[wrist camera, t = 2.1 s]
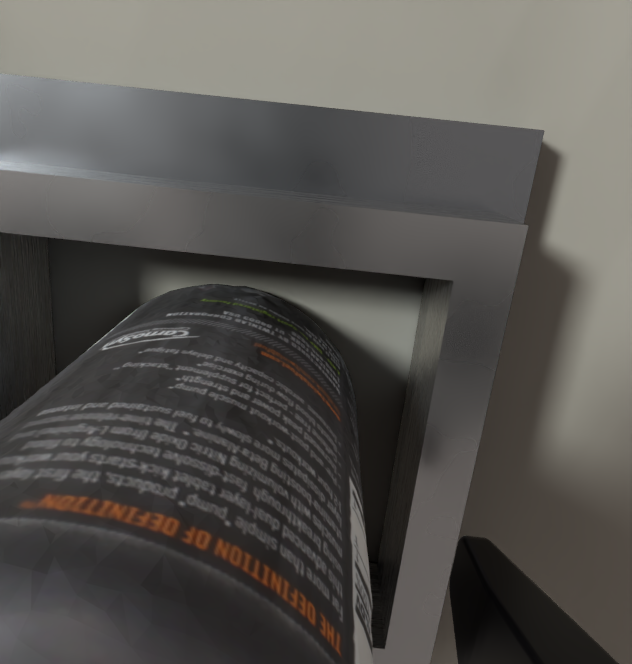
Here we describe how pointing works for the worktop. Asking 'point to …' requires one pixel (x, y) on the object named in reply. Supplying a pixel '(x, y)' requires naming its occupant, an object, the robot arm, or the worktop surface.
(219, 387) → the pill bottle
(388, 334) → the worktop surface
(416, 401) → the faceplate
